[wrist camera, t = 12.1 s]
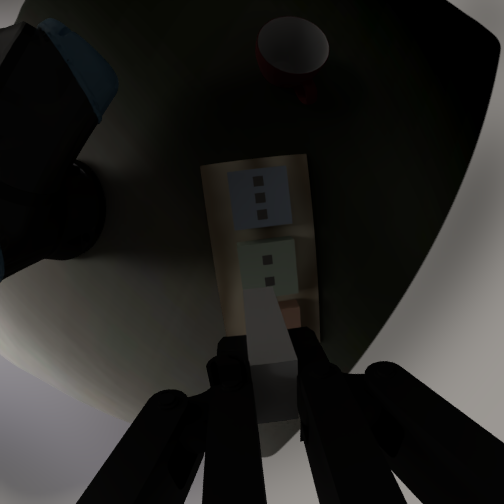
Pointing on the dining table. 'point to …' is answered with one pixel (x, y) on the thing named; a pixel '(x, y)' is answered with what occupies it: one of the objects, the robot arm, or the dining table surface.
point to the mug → (292, 55)
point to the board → (227, 238)
